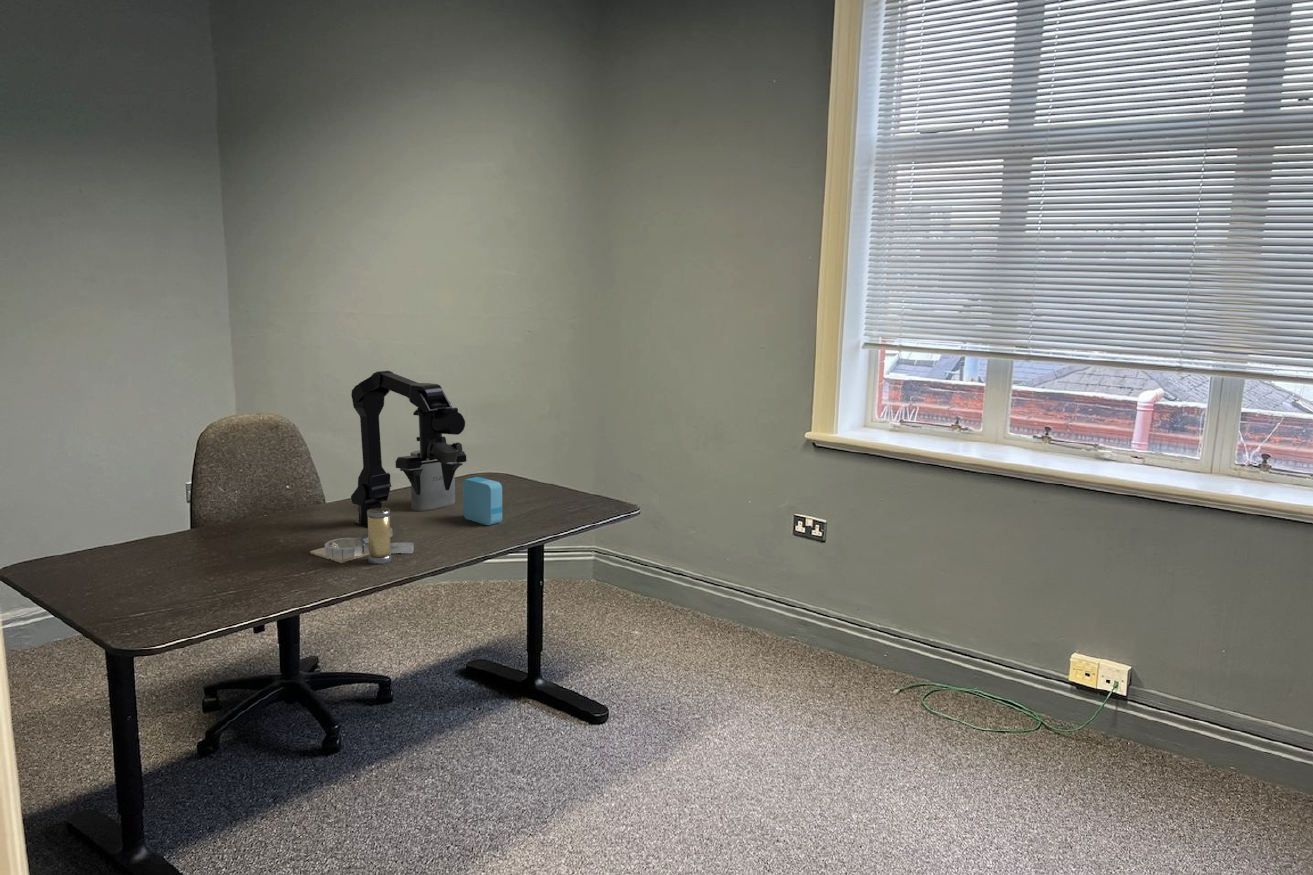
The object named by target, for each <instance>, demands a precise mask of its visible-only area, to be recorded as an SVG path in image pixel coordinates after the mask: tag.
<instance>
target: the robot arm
mask: <svg viewBox="0 0 1313 875" xmlns="http://www.w3.org/2000/svg"><path fill="white" fill-rule="evenodd" d="M390 392H393V393H396V394H398V395H401V396H404V397H406V398H408V401H409V402H410V403H411V404H412V405H414V406H415V407H416V409H415V411H413V412H412V413H413V416H418V429H419V430H418V431H419V432H418V434H419V435H418V436H416V442H419V450H420V453H417V457H415V456H411V455H404V456H398V457H397V458H396V460H395V468H396V469H399V471H400V472H403V473H404V474H405V475H404V476H406V477H407V479H408V480H409V482H410V486H411V485H412V487H413V488H414V490H415V492H416V494H417V495H420V492H421V485H420V474H421V472H422V470H423V469H419V468H420V467H421V465H422V464H429V463H437V462H440V463H441V467H442V474H443V480H444V486H445V490H449V489H450V486H451V482H452V479H453V476H454V473H455V474H456V471H457V469H459V467H461V466H463V465H464V464H463V463H466V462H467V461H468V460H467V454H466V452H465V451H464V450H463V444H462V443H460V442H452V443H451V444H448V443H447V438H446V436H443V435H458V436H459V435H460V434H461V433H463V431H464V429H465V427H466V420H465V418H464V416H463V415H462V413H460V412H459V409H458V407H453V406H452V405H451V402H450V400H449V399H448V397H447V395H446V394H445V392H444V390H443V388H442V386H441V385H440V384H437V383H431V382H430V383H429V382H418V381H417V382H416V381H414V380H412V379H409V378H407V377H404V376H402V375H398V374H396V373H394V372H392V371H390V370H381V371H379V370H378V371H375V372H373V373H372V374H371V375H370V377H368V378H366V379H364V380H362V381H361V382H359V383H358V384H356V385H355V386H354V387H353V389H351V395H350V396H351V400H352V406H353V407H352V408H353V409H354V410H355V411H356V413H357V414H358V416H359V418H360V423H359V424H360V434H361V450H362V464H363V465H362V469H361V472H360V474H359V475H358V478H357V488H356V489H355V490H354V491H353V493H352V494H351V496H350V498H351V503H352V504H353V505H357V506H358V507H357V508H358V520H355V521H354V523H353V524H356V525H358V526H362V527H366V528H368V516H367V510H369V509H371V508H379V507H382V508H383V503H382V502H387V501H388V499H389V495H390V491H391V488H392V484H391V474H390V472H387V471H386V470H385V468H384V467H383V460H382V446H381V445H382V444H381V431H380V428H381V427H380V414H381V412H382V410H383V409H384V406H385V397H386V396H387V395H389V393H390Z"/></svg>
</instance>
